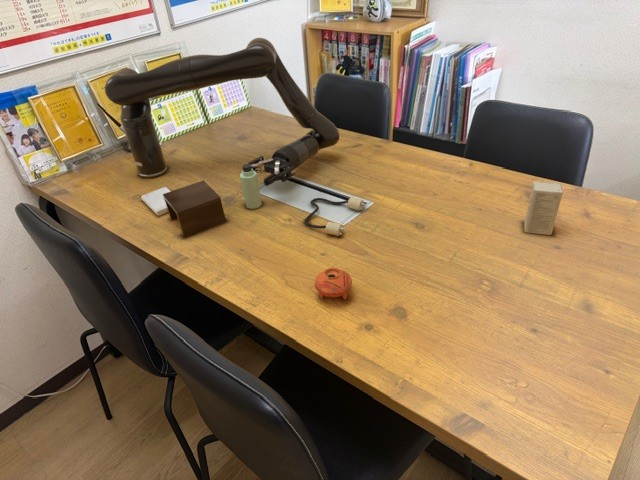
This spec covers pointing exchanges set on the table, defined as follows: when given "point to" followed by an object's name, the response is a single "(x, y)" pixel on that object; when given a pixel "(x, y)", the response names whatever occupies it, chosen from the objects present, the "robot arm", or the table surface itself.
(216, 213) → the stand
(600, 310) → the table surface
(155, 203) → the hard drive
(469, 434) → the table surface
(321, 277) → the pot
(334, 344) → the table surface
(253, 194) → the bottle
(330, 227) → the cable
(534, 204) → the cosmetic box
